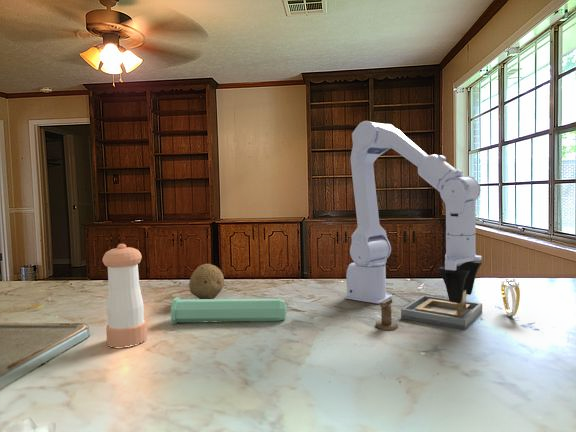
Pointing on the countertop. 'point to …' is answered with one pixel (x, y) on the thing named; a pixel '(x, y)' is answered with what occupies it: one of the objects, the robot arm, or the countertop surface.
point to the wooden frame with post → (461, 307)
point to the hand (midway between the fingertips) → (460, 298)
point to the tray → (442, 320)
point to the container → (227, 310)
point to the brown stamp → (386, 316)
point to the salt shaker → (124, 298)
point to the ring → (515, 301)
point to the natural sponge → (206, 281)
